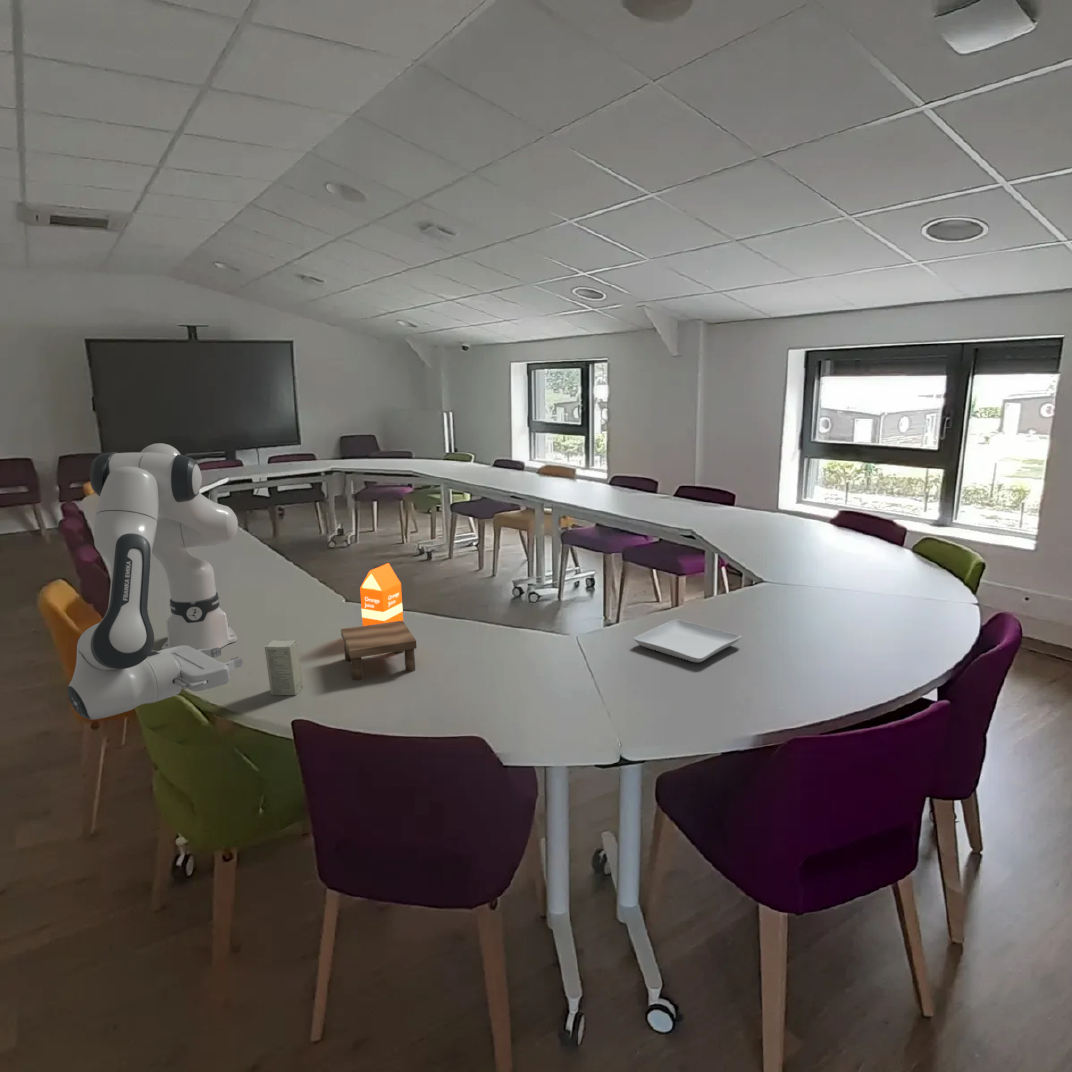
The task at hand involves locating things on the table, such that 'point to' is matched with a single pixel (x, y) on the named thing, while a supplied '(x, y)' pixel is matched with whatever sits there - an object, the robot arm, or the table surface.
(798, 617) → the table surface
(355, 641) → the walnut stool
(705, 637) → the salad plate
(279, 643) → the skincare box
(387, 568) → the orange juice
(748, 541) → the table surface
